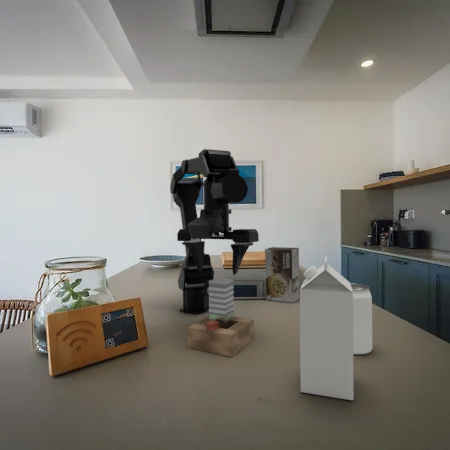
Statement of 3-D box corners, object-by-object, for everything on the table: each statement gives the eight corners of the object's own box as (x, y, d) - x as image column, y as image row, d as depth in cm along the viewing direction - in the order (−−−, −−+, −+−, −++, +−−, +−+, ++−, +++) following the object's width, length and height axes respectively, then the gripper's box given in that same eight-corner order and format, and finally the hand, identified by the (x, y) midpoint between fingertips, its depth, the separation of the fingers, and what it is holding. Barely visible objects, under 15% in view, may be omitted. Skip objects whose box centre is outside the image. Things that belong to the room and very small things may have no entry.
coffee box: (300, 298, 98) (299, 247, 98) (293, 303, 93) (292, 249, 93) (273, 295, 103) (272, 246, 103) (265, 299, 98) (264, 248, 97)
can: (376, 357, 56) (375, 290, 56) (338, 354, 58) (338, 289, 57) (367, 343, 63) (367, 283, 62) (333, 341, 64) (333, 282, 64)
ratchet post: (209, 320, 63) (208, 281, 63) (218, 315, 66) (217, 277, 66) (225, 323, 61) (224, 282, 61) (234, 317, 64) (233, 279, 64)
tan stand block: (187, 347, 62) (187, 320, 62) (213, 331, 71) (213, 308, 70) (232, 357, 57) (232, 328, 57) (254, 338, 66) (254, 314, 66)
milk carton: (350, 377, 49) (350, 257, 49) (353, 402, 43) (352, 263, 42) (304, 370, 52) (303, 255, 51) (300, 393, 45) (299, 261, 45)
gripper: (161, 205, 69) (162, 275, 69) (236, 202, 60) (237, 283, 60) (190, 206, 79) (191, 268, 79) (259, 204, 70) (259, 273, 70)
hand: (217, 272), depth 72 cm, fingers open, 9 cm apart
